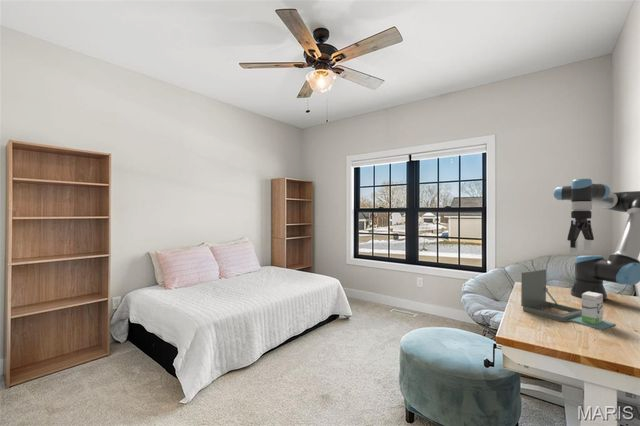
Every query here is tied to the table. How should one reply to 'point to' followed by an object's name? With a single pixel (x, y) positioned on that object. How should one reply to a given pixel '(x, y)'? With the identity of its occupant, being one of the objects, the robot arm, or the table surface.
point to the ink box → (592, 307)
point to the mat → (600, 325)
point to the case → (542, 297)
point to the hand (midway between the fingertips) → (580, 253)
